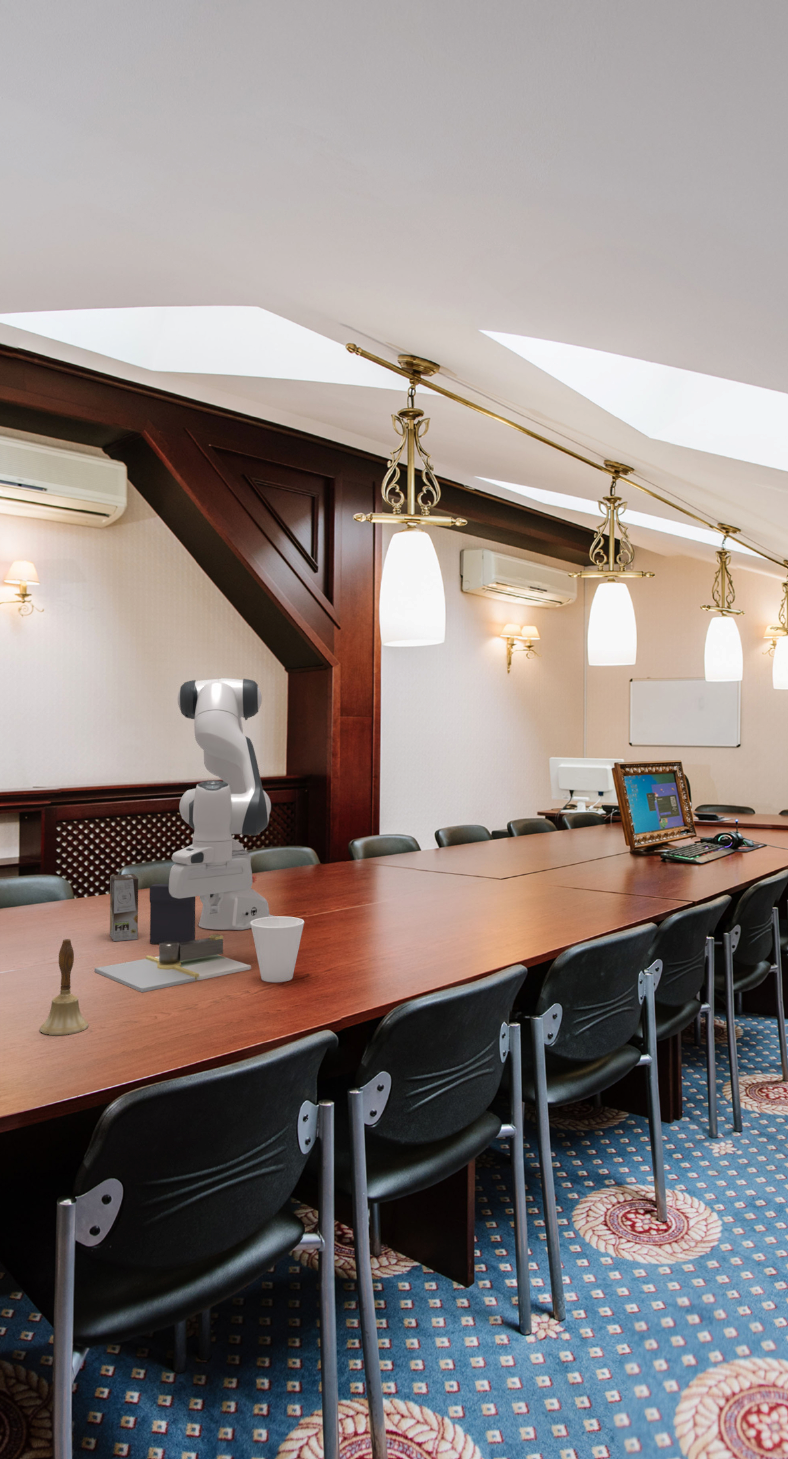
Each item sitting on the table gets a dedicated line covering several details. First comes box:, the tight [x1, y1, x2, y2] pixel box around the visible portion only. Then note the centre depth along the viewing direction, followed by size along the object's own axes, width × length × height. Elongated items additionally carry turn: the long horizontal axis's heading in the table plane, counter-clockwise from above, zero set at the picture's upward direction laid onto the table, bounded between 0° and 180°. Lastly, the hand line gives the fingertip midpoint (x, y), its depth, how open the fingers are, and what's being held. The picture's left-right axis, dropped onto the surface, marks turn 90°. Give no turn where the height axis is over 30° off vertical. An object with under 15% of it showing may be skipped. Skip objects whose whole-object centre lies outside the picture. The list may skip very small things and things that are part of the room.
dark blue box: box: [149, 883, 196, 945], centre depth 223 cm, size 11×4×15 cm, turn 84°
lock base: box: [94, 954, 252, 993], centre depth 196 cm, size 27×22×4 cm
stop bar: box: [158, 933, 224, 964], centre depth 200 cm, size 15×4×4 cm, turn 131°
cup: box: [250, 915, 305, 983], centre depth 191 cm, size 12×12×12 cm
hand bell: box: [39, 938, 90, 1036], centre depth 157 cm, size 8×8×16 cm
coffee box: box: [109, 873, 139, 942], centre depth 230 cm, size 9×6×16 cm
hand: (211, 913), depth 197 cm, fingers closed
